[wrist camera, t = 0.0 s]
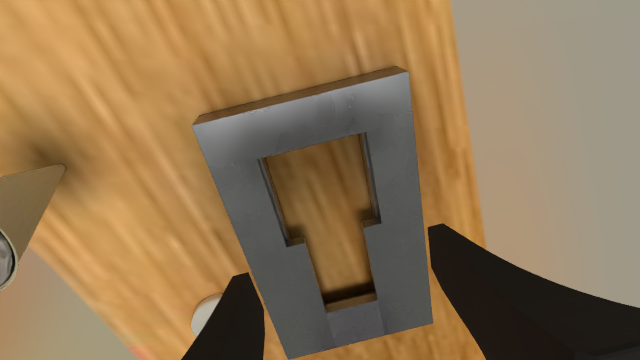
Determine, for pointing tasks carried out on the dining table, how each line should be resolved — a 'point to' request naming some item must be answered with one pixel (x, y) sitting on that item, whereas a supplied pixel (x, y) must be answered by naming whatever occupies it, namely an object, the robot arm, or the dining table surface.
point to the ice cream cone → (22, 213)
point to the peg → (204, 312)
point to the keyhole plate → (379, 232)
